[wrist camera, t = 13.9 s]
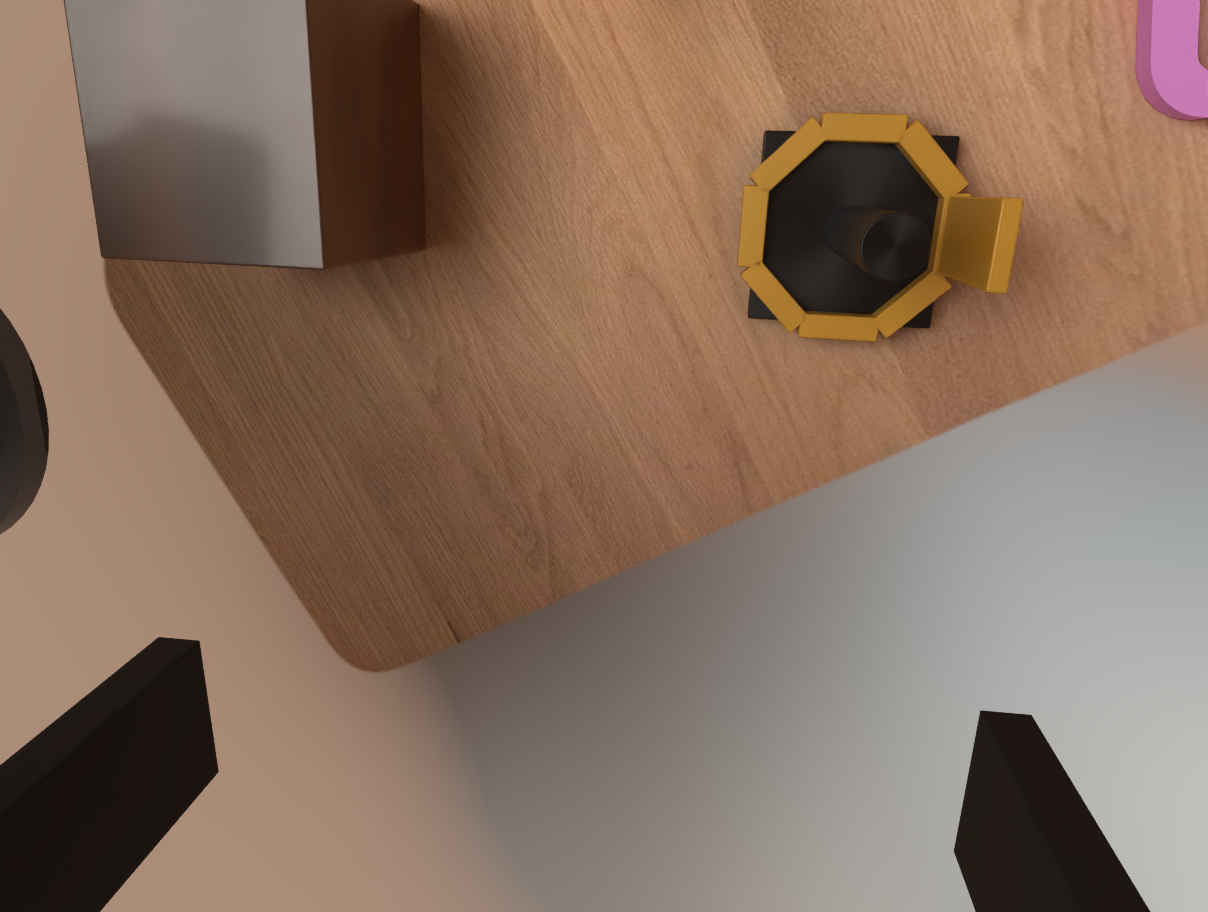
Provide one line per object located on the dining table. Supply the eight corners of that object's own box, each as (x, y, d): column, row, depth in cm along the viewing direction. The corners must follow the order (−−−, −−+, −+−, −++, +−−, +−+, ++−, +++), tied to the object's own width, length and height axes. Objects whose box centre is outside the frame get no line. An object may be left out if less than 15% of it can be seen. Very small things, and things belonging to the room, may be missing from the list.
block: (253, 241, 46) (100, 258, 35) (232, 1, 43) (52, -68, 31) (426, 250, 45) (324, 270, 34) (419, 3, 41) (302, -68, 30)
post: (747, 315, 44) (754, 364, 31) (764, 131, 41) (779, 106, 29) (924, 325, 43) (1005, 380, 30) (953, 137, 40) (1056, 113, 27)
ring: (731, 329, 43) (732, 364, 34) (749, 112, 40) (755, 91, 31) (940, 342, 42) (996, 381, 33) (977, 118, 38) (1049, 98, 30)
